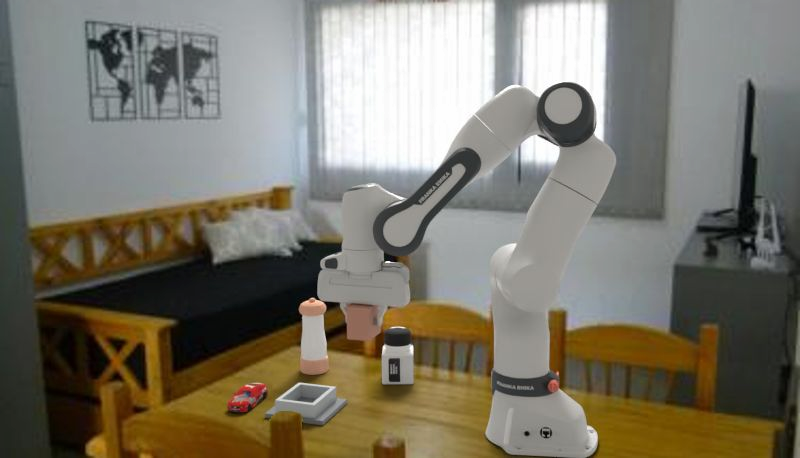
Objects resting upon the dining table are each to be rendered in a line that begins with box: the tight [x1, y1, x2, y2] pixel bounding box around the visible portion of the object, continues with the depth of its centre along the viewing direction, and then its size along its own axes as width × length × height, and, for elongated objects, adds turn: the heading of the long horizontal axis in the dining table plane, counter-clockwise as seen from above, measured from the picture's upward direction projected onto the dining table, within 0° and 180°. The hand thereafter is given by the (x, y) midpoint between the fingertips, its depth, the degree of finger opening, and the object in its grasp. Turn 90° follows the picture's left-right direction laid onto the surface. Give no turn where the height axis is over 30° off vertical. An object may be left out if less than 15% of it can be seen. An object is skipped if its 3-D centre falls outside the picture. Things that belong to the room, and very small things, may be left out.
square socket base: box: [264, 382, 348, 426], centre depth 171 cm, size 14×13×4 cm
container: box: [381, 326, 415, 385], centre depth 189 cm, size 8×8×13 cm
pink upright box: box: [346, 303, 382, 342], centre depth 163 cm, size 5×7×7 cm
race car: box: [227, 382, 269, 413], centre depth 176 cm, size 13×5×4 cm, turn 163°
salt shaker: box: [298, 297, 329, 376], centre depth 196 cm, size 7×7×19 cm
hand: (363, 323), depth 163 cm, fingers closed on pink upright box, 5 cm apart
